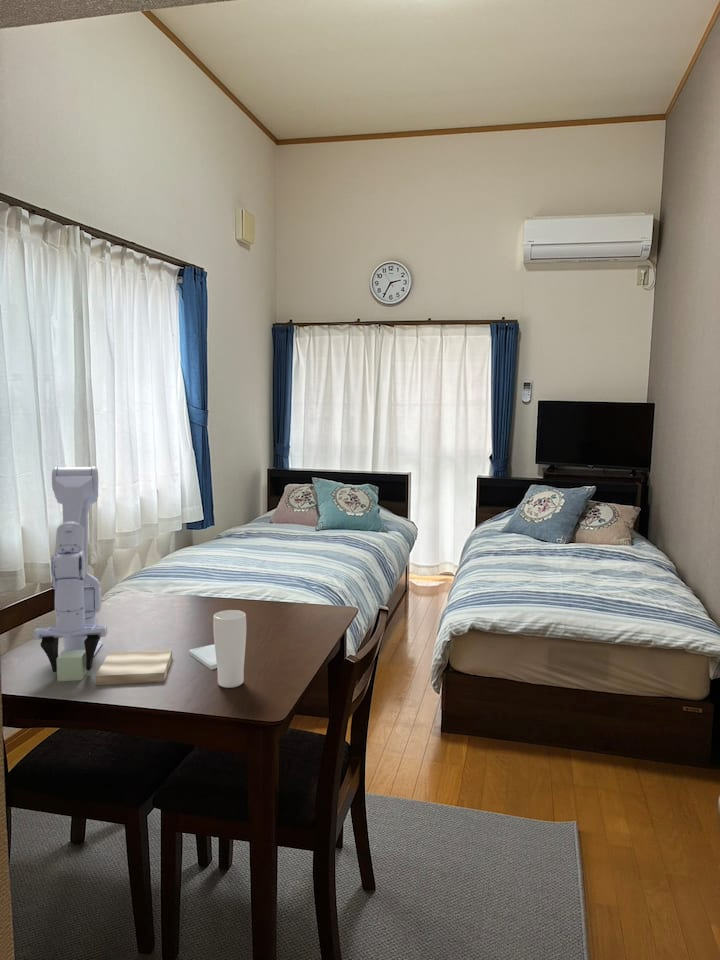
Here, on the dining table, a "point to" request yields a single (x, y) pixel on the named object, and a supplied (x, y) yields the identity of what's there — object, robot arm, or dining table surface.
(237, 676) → the drinking glass
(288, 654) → the dining table surface
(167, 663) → the birch base
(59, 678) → the sage cube
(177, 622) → the dining table surface
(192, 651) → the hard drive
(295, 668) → the dining table surface
